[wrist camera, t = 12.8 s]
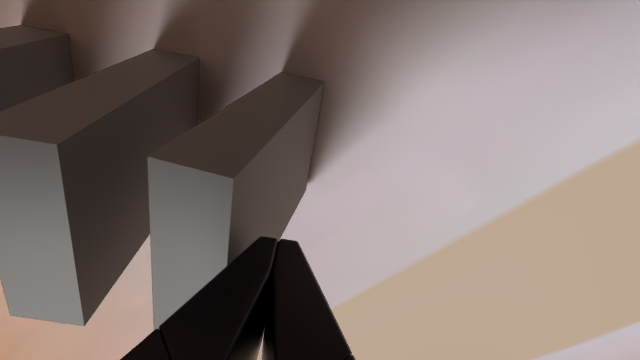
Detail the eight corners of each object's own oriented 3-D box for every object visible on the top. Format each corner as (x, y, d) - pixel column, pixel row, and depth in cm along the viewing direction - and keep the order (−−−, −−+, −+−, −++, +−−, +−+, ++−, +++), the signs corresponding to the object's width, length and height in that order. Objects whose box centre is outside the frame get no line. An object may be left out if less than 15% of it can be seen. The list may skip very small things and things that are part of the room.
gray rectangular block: (325, 81, 14) (233, 178, 7) (305, 190, 16) (220, 352, 9) (281, 72, 14) (147, 156, 7) (267, 180, 16) (153, 331, 9)
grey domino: (199, 57, 14) (56, 144, 7) (195, 168, 16) (84, 326, 9) (153, 48, 14) (-41, 128, 7) (155, 161, 16) (10, 315, 9)
